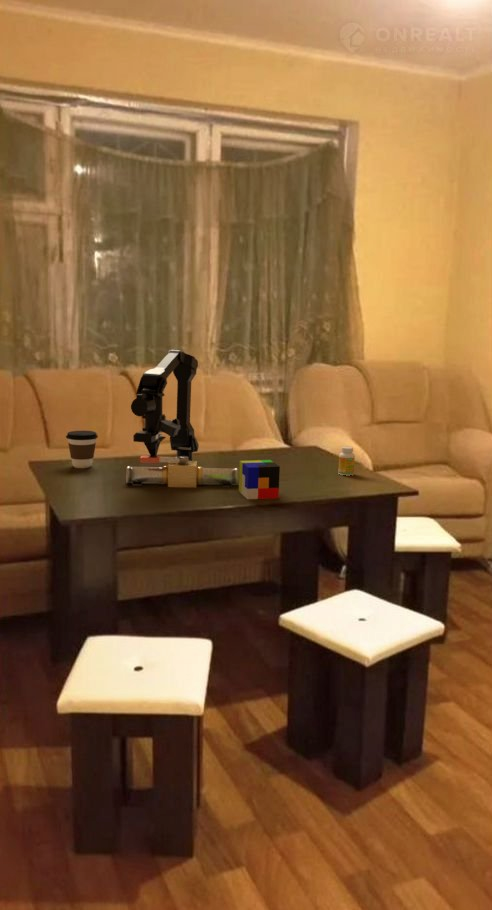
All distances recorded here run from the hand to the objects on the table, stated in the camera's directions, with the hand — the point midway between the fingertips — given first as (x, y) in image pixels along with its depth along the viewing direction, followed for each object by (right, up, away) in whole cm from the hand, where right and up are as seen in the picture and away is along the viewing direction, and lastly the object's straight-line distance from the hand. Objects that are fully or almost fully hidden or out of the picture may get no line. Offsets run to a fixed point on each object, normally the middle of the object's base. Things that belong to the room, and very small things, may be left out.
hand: (153, 458), depth 259 cm
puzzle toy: (+34, -11, -11) cm, 37 cm away
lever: (+4, -1, -2) cm, 5 cm away
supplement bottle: (+65, -6, +21) cm, 69 cm away
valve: (+9, -8, -1) cm, 12 cm away
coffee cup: (-28, -3, +22) cm, 35 cm away
